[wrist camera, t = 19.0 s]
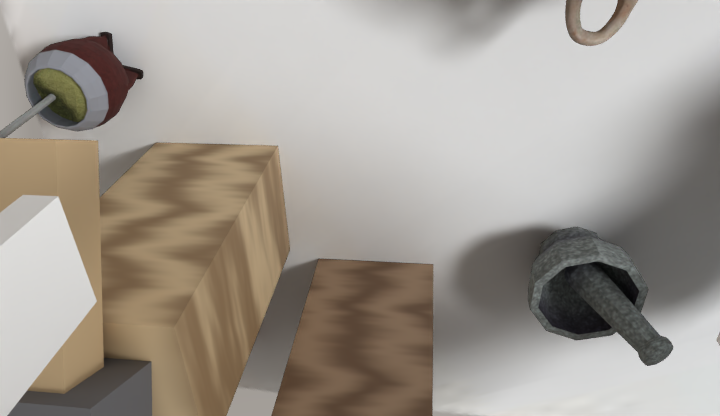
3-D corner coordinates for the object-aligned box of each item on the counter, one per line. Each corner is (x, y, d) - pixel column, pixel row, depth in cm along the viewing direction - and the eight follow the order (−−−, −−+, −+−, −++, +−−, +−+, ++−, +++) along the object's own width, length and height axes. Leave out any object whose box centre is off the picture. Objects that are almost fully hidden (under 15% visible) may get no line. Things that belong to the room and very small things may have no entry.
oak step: (277, 145, 51) (174, 327, 31) (289, 249, 57) (210, 457, 37) (156, 142, 52) (-21, 314, 32) (181, 244, 59) (46, 441, 38)
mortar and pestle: (503, 272, 56) (519, 362, 45) (547, 199, 51) (575, 281, 40) (604, 305, 56) (642, 401, 46) (657, 236, 51) (712, 325, 41)
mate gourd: (146, 36, 47) (40, 98, 34) (148, 119, 51) (54, 201, 38) (62, 17, 47) (-76, 71, 34) (71, 102, 51) (-49, 178, 38)
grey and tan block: (148, 142, 31) (82, 140, 25) (153, 486, 33) (95, 559, 27) (18, 138, 32) (-74, 136, 26) (32, 474, 34) (-49, 542, 28)
